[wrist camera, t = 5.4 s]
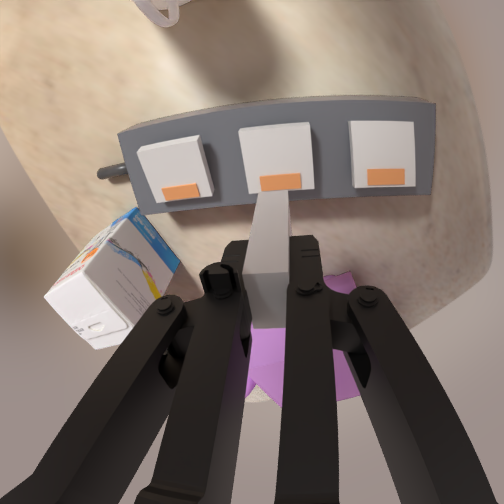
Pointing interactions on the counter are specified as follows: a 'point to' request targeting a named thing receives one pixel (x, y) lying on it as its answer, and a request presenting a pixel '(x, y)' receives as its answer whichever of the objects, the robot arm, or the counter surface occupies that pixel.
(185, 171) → the rocker
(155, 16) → the mug
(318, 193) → the power strip
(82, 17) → the counter surface
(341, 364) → the teapot
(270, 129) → the rocker
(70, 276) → the ink box
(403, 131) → the rocker
